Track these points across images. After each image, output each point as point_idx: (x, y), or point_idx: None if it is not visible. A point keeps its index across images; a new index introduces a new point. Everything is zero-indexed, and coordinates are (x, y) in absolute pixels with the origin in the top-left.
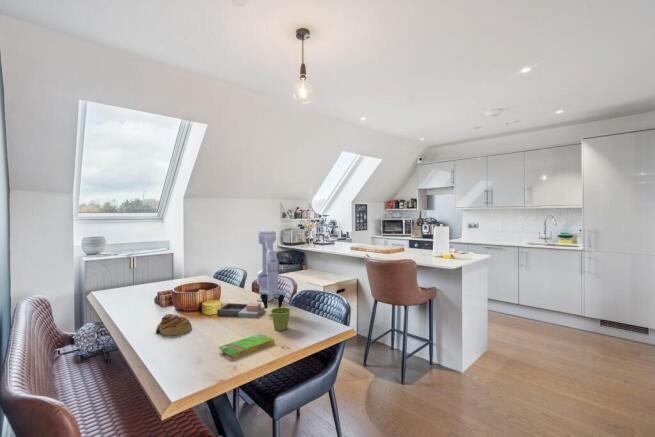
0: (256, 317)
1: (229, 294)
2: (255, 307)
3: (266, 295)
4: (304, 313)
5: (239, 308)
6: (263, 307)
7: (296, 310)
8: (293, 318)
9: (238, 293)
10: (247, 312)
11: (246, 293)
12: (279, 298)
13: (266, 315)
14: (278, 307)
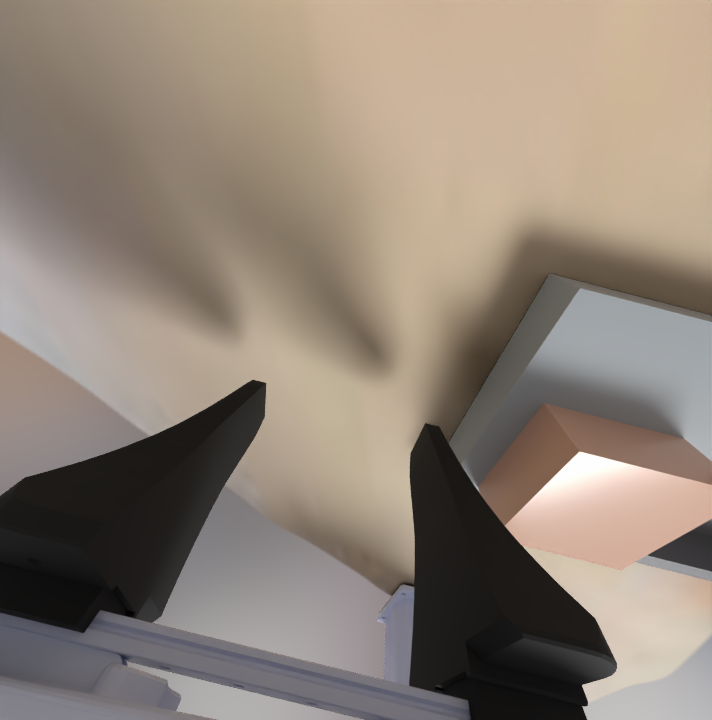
0: (547, 277)
1: (630, 682)
2: (589, 440)
3: (442, 673)
4: (66, 356)
5: None
6: None
7: None
8: (82, 209)
9: None
10: (703, 363)
11: None
12: (77, 501)
13: (414, 342)
14: (252, 395)
